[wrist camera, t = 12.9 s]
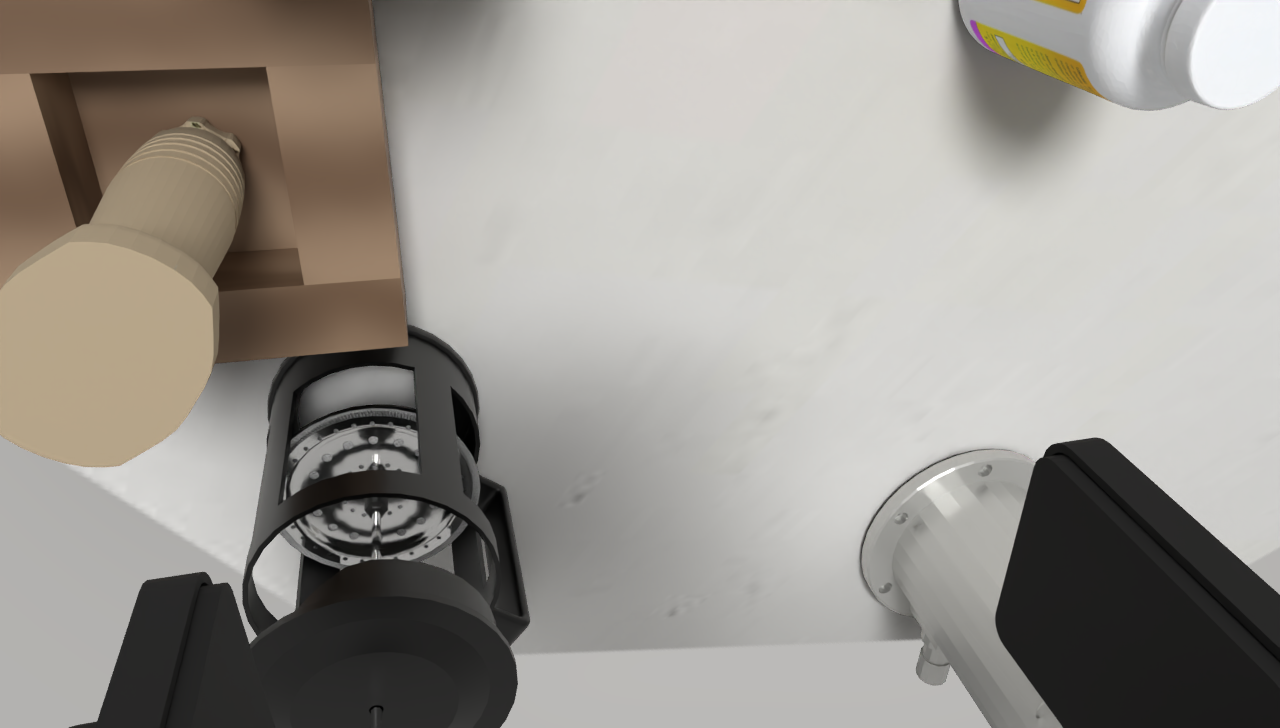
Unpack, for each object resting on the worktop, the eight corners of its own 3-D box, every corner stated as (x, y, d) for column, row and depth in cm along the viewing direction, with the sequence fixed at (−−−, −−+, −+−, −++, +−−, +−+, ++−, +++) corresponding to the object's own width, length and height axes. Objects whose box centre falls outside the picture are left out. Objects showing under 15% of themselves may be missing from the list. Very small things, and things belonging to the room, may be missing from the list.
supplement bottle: (1085, 33, 42) (1323, 117, 32) (949, 66, 41) (1146, 163, 31) (1102, -131, 39) (1378, -99, 28) (953, -99, 38) (1179, -53, 27)
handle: (304, 120, 35) (254, 305, 23) (226, 254, 37) (141, 491, 25) (174, 46, 33) (40, 206, 21) (99, 192, 35) (-65, 419, 22)
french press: (214, 432, 42) (81, 962, 23) (324, 273, 40) (277, 725, 21) (436, 527, 48) (476, 1014, 29) (545, 394, 45) (668, 834, 26)
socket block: (405, 294, 41) (408, 345, 37) (51, 323, 38) (16, 381, 34) (365, -53, 34) (364, -32, 30) (-76, -51, 31) (-138, -29, 27)
